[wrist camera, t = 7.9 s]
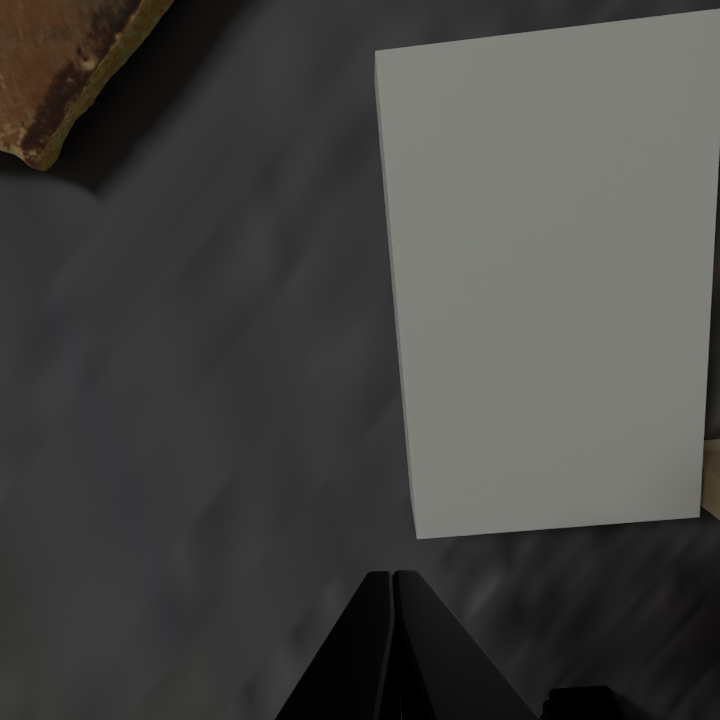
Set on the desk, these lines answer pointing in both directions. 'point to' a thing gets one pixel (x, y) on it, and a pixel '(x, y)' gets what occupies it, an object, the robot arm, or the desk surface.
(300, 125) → the desk surface
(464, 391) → the plate
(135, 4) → the shard
